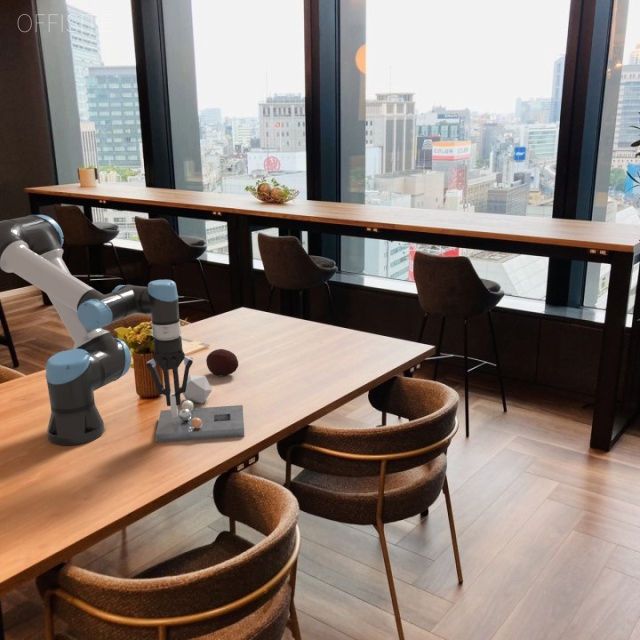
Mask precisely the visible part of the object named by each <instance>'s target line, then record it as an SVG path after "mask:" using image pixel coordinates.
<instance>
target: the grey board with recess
mask: <svg viewBox="0 0 640 640" xmlns="http://www.w3.org/2000/svg"><path fill="white" fill-rule="evenodd" d="M243 406H244V405H243V404H239V405H237V404H236V405H226V406H225V405H224V406H208V407H195V408H194V407H193V409H192V410H191V411H190V412H191V418H190V419H189V420H187V421H183V420H181V419H180V417H179V413H180V411H181V410H182V408H181V409H180V408H178V417H177V418H172V413H171V409H165V410H163V409H162V410H160V414H159V417H158V422H157V427H156V431H155V438H156V439H155V440H156V443H172V442H182V441H184V442H185V441H186V442H187V441H198V440H210V439H211V440H213V439H225V438H226V439H227V438H239V437H241V438H242V437H245V424H244V423H245V422H244V409H243V408H244V407H243ZM194 418H199V419H201V421H202V425H201V427H200V428H197V429H195V428H193V427H192V426H191V421H192V420H193V419H194Z"/></svg>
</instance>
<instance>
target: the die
mask: <svg viewBox="0 0 640 640" xmlns="http://www.w3.org/2000/svg"><path fill="white" fill-rule="evenodd" d="M181 387H182V385H181V386H180V388H181ZM212 392H213V389H212V386H211V385H210V383H209V381H208V378H207V377H206V375H196V374H188V380H187V386H186V391H185V393H182V395H183V397H184V398H185V401H186V400H189V401H191V402H192V403H193V404H204V403H205V401H206V400H207V398H208V397H209V396H210V395H211V393H212Z"/></svg>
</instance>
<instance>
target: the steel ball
mask: <svg viewBox="0 0 640 640" xmlns="http://www.w3.org/2000/svg"><path fill="white" fill-rule="evenodd" d="M181 409H182V408H181ZM179 417H180V419H181V420H183V421H187V420H189V419H190V418H191V412H190V410H188V409H182V410H181V411H180V413H179Z"/></svg>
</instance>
